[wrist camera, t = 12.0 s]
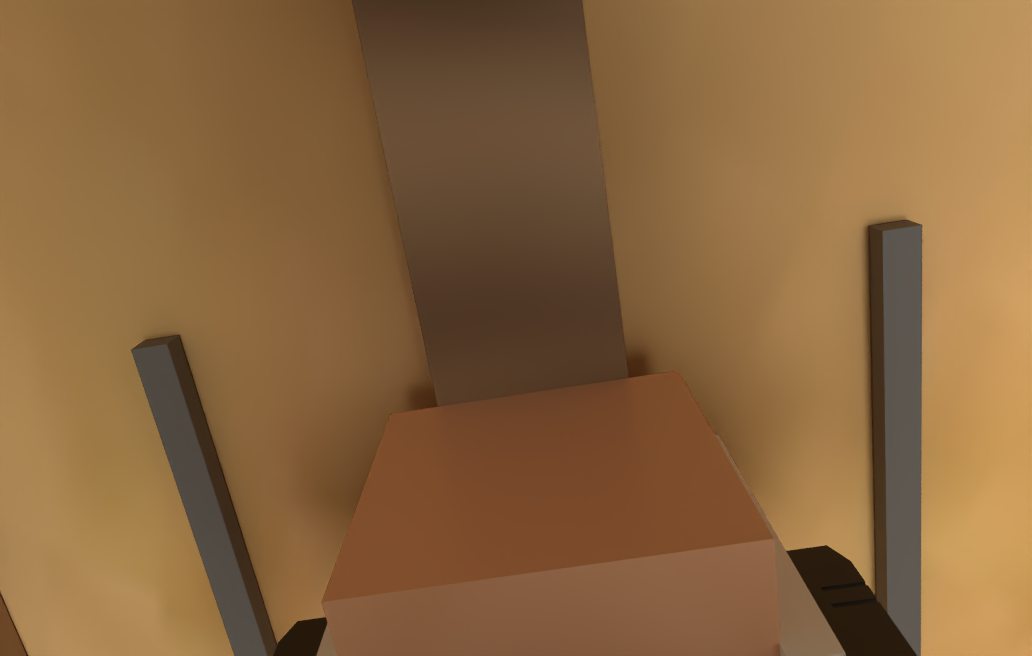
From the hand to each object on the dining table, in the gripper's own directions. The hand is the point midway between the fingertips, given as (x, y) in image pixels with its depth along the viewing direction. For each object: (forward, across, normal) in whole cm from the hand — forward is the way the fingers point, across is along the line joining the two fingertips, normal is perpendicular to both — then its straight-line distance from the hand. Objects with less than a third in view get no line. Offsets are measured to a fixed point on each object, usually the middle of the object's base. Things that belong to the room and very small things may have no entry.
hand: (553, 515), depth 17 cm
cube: (0, 0, 0) cm, 0 cm away
